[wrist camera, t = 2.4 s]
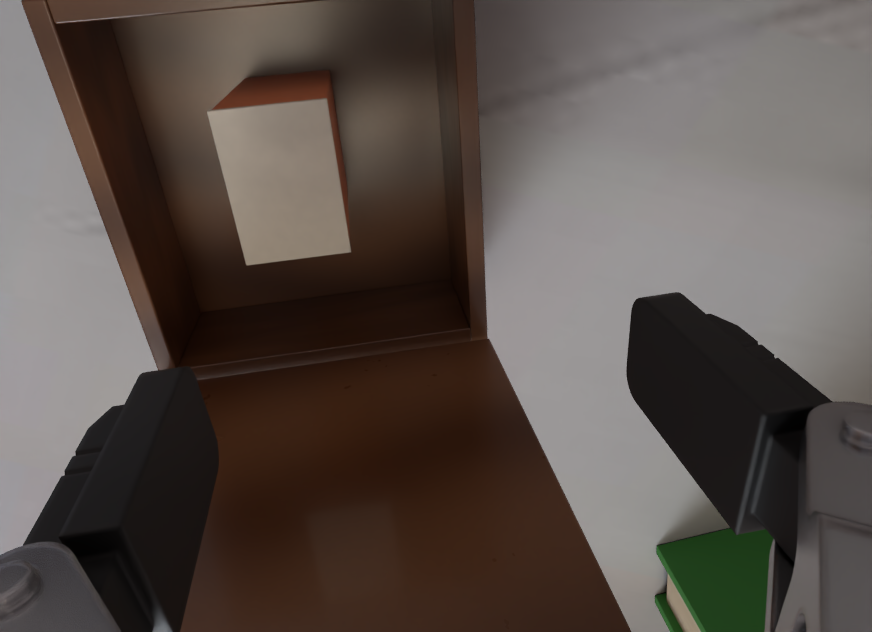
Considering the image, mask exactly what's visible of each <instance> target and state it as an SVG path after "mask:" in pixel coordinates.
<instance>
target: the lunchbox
mask: <svg viewBox="0 0 872 632" xmlns="http://www.w3.org/2000/svg"><path fill="white" fill-rule="evenodd" d="M22 5H23V8H24V10H25V13H26V16H27V19H28V21H29V24H30V27H31V29H32V32H33V35H34V37H35V40H36V43H37V45H38V48H39V51H40V53H41V56H42V59H43V62H44V64H45V67H46V70H47V72H48V75H49V78H50V80H51V83H52V86H53V88H54V91H55V94H56V97H57V99H58V102H59V105H60V107H61V110H62V113H63V115H64V118H65V121H66V123H67V126H68V129H69V131H70V134H71V137H72V140H73V142H74V145H75V148H76V150H77V153H78V156H79V158H80V161H81V164H82V166H83V169H84V172H85V175H86V177H87V180H88V183H89V185H90V188H91V191H92V193H93V196H94V199H95V201H96V204H97V207H98V209H99V212H100V215H101V218H102V220H103V223H104V226H105V228H106V231H107V234H108V236H109V239H110V242H111V244H112V247H113V250H114V253H115V255H116V258H117V261H118V263H119V266H120V269H121V271H122V274H123V277H124V279H125V282H126V285H127V287H128V290H129V293H130V296H131V298H132V301H133V304H134V306H135V309H136V312H137V314H138V317H139V320H140V322H141V325H142V328H143V330H144V333H145V336H146V339H147V341H148V344H149V347H150V349H151V352H152V355H153V357H154V360H155V363H156V365H157V368H158V370H164V369H171V368H177V367H184V366H188V367H190V368H191V369H192V371H193V372H194V374H195V376H196V379H197V380H202V379H209V378H216V377H223V376H230V375H237V374H244V373H251V372H258V371H265V370H272V369H279V368H286V367H293V366H300V365H307V364H314V363H321V362H328V361H335V360H342V359H349V358H356V357H363V356H370V355H377V354H384V353H391V352H398V351H405V350H412V349H419V348H426V347H433V346H440V345H447V344H454V343H461V342H468V341H475V340H482V339H487V315H486V289H485V264H484V239H483V214H482V188H481V163H480V138H479V112H478V87H477V62H476V36H475V11H474V0H22ZM321 70H329V71H330V76H331V82H332V89H333V95H334V102H335V108H336V115H337V121H338V128H339V134H340V141H341V147H342V154H343V160H344V167H345V174H346V180H347V190H348V212H349V233H350V246H351V252H349V253H341V254H333V255H326V256H318V257H310V258H302V259H294V260H286V261H278V262H270V263H263V264H255V265H246V262H245V258H244V254H243V251H242V247H241V243H240V239H239V235H238V231H237V227H236V223H235V219H234V215H233V212H232V208H231V204H230V200H229V196H228V192H227V188H226V184H225V180H224V176H223V173H222V169H221V165H220V161H219V157H218V153H217V149H216V145H215V141H214V137H213V134H212V130H211V126H210V122H209V118H208V114H207V111H208V110H212V109H213V108H214V107H215V106H216V105H217V104H218V103H219V102H220V101H221V100H222V99H224V98H225V97H226V96H227V95H228V94H229V93H230V92H231V91H232V90H233V89H234V88H235V87H236V86H237V85H238V84H240V83H241V82H242V81H243V80H244V79H245V78H251V77H261V76H271V75H281V74H291V73H301V72H311V71H321Z"/></svg>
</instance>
